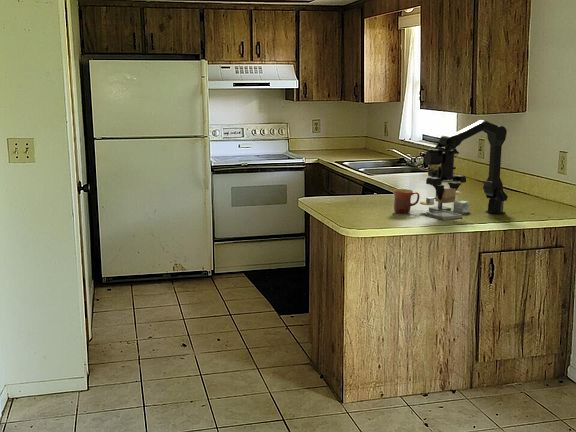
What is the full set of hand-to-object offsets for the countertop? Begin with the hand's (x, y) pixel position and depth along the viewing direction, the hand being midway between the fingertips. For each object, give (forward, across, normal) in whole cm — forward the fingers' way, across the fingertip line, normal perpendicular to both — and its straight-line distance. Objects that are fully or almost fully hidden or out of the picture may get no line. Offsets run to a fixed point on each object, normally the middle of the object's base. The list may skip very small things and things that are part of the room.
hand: (445, 199), depth 310 cm
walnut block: (+1, 0, 0) cm, 1 cm away
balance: (+8, -7, -10) cm, 15 cm away
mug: (+8, +10, -14) cm, 19 cm away
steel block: (+8, -14, -4) cm, 17 cm away
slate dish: (+8, 0, 0) cm, 8 cm away
